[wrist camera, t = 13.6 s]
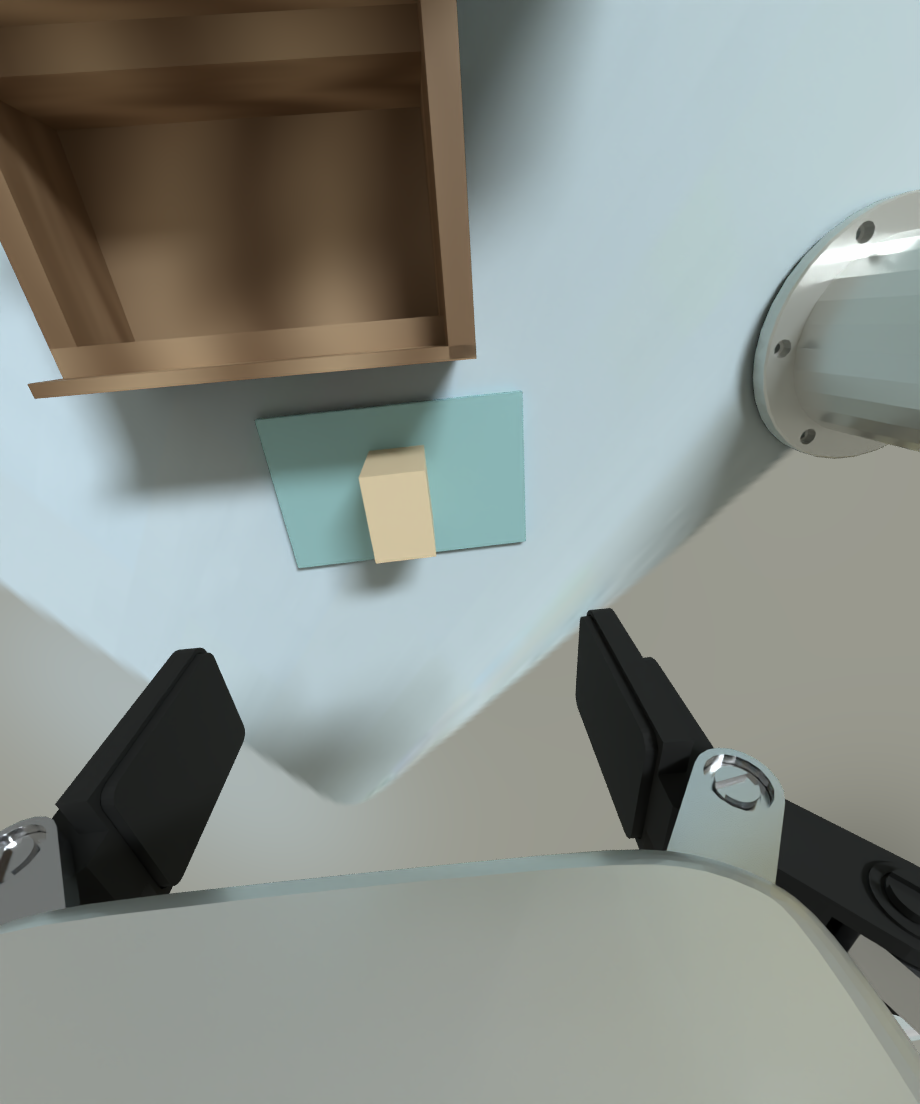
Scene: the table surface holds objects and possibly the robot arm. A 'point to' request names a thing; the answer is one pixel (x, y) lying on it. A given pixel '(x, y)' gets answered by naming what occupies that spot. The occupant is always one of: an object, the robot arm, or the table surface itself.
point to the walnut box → (235, 187)
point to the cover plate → (453, 462)
